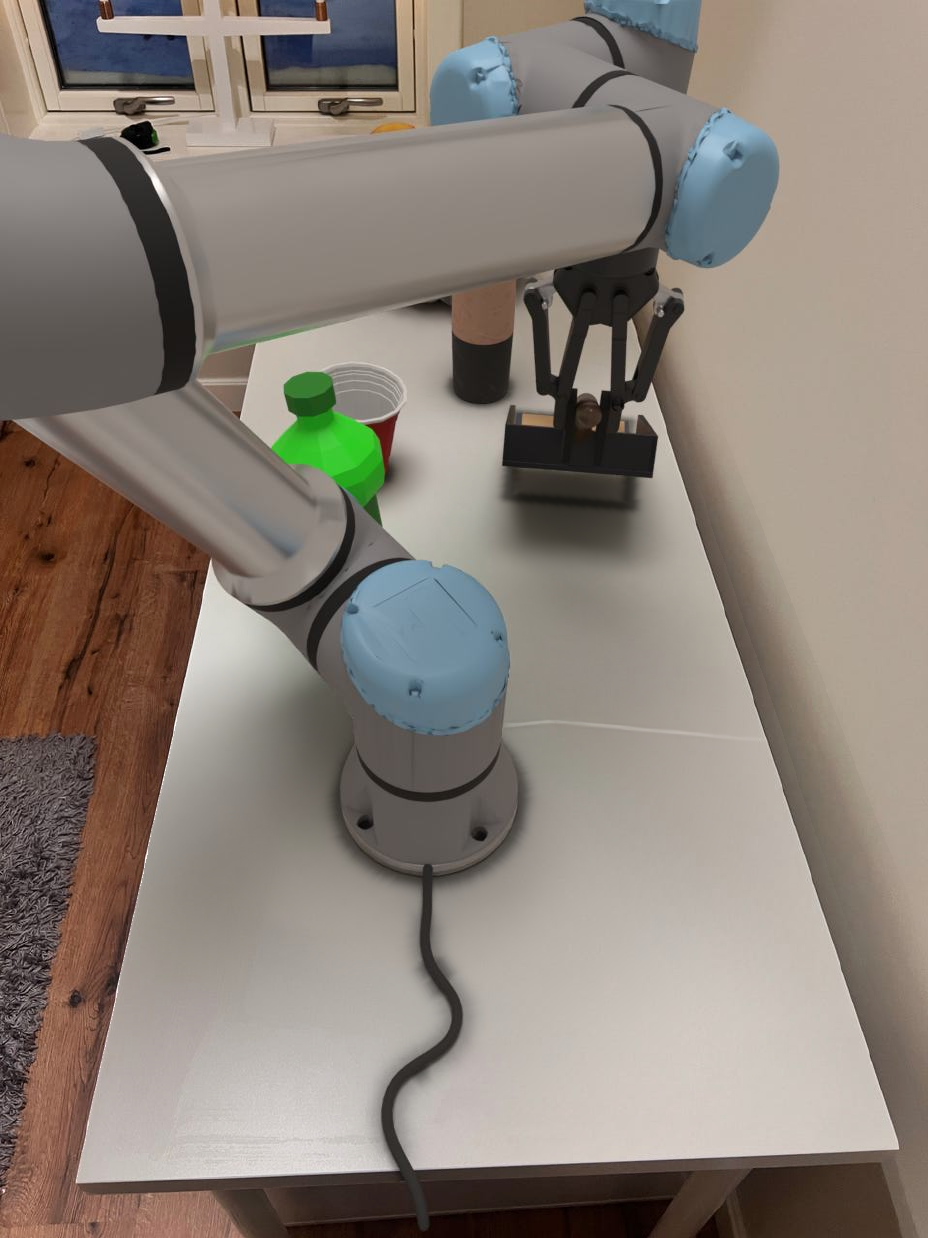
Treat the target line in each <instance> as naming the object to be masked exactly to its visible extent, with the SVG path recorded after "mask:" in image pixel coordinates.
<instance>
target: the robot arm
mask: <svg viewBox="0 0 928 1238" xmlns="http://www.w3.org/2000/svg"><path fill="white" fill-rule="evenodd" d="M702 3H703V0H584V1H583V10H584V14H583V15H580V16H579V15H578V16H576V17H573V18H571V19H569V20H567V21H563V22H559V23H555V24H551V25H545V26H541V27H537V28H533V29H528V30H524V31H519V32H515V33H510V34H507V35H502V36H498V37H497V36H495V35H491V36H489V37H488V36H487V37H485V38H484V40H482V41H479V42H477V43H474V44H471V45H468V46H464V47H462V48H459V49H457V50H454V51H451V52H450V53H449V54H448V55H446V56H445V57H443V59H442V60H441V61H440V63H439V64H438V65H437V67H436V69H435V71H434V74H433V76H432V80H431V83H430V88H429V105H430V109H429V110H430V111H429V120H430V126H423V127H415V129H407V130H399V131H391V132H383V133H375V134H370V133H368V134H361V135H353V136H346V137H345V136H344V137H337V138H336V137H335V138H329V139H320V140H313V141H306V142H296V143H289V144H281V145H274V146H266V147H257V148H251V149H242V150H234V151H226V152H217V153H209V154H202V155H194V156H186V157H179V158H178V157H177V158H170V159H161V160H155V161H154V160H153V159H151V158H150V157H149V156H148V155H147V154H145V153H144V152H143V151H142V150H141V149H139V148H138V147H137V146H136V145H134V144H133V143H132V142H130V141H129V140H128V139H126V138H124V137H121V136H117V135H116V136H115V135H114V136H104V137H93V138H84V139H75V140H43V139H35V138H28V137H27V138H26V137H19V136H14V135H10V134H6V133H1V132H0V421H13V422H14V423H16V424H17V425H18V426H20V427H21V428H23V429H24V430H25V431H26V432H28V433H30V434H32V435H33V436H35V437H36V438H37V439H38V440H40V441H42V442H43V443H45V444H46V445H47V446H49V448H52V449H54V450H55V451H56V452H57V453H59V454H61V455H62V456H63V457H65V458H66V459H68V460H69V461H71V462H72V463H74V464H75V465H76V466H78V467H79V468H81V469H83V470H84V471H85V472H87V473H88V474H89V475H91V476H93V477H94V478H96V479H97V480H98V481H100V482H101V483H102V484H104V485H106V486H107V487H108V488H110V489H111V490H113V491H114V492H115V493H117V494H118V495H120V496H121V497H123V498H125V499H126V500H127V501H129V502H130V503H132V504H133V505H135V506H136V507H138V508H139V509H141V510H142V511H143V512H145V513H146V514H148V515H149V516H151V517H152V518H153V519H155V520H156V521H158V522H160V523H161V524H162V525H164V526H166V527H167V528H168V529H170V530H171V531H173V532H174V533H176V534H177V535H178V536H180V537H181V538H183V539H184V540H186V541H187V542H189V543H190V544H191V545H193V546H194V547H196V548H198V550H200V551H202V552H203V553H204V554H206V555H207V556H209V557H210V560H211V561H210V562H211V567H212V571H213V573H214V576H215V578H216V580H217V582H218V584H219V585H220V586H221V588H222V589H223V590H224V591H225V592H226V593H227V594H228V595H229V596H231V597H232V598H234V599H235V600H237V601H239V602H240V603H242V604H243V605H244V606H246V607H247V608H249V609H250V610H252V611H254V613H257V614H258V615H260V616H261V617H263V618H264V619H266V620H267V621H269V622H270V623H271V624H273V625H274V626H275V627H276V628H278V630H279V631H280V632H282V633H283V634H284V636H286V637H287V639H288V640H289V641H290V642H291V643H292V644H293V646H294V647H295V648H296V649H297V650H298V651H299V652H300V654H301V655H302V656H303V657H304V658H305V660H306V661H307V662H308V663H309V664H310V665H311V667H312V668H313V670H315V671H316V673H317V674H318V675H319V676H320V678H321V679H322V680H323V681H324V682H325V683H326V685H327V686H328V687H329V688H330V689H331V690H332V692H333V693H334V694H335V695H336V697H338V699H339V700H340V701H341V702H342V703H343V705H344V706H345V708H346V709H347V711H348V713H349V714H350V717H351V719H352V725H353V734H354V740H355V741H354V743H353V744H352V747H351V750H350V751H349V754H348V755H347V757H346V760H345V763H344V766H343V768H342V771H341V775H340V782H339V799H340V806H341V812H342V816H343V820H344V823H345V826H346V828H347V830H348V832H349V834H350V836H351V837H352V839H353V840H354V842H355V843H356V845H358V847H359V848H360V849H361V851H363V852H364V853H365V854H366V855H368V856H369V857H370V858H372V859H373V860H375V861H376V862H377V863H378V864H380V865H382V866H384V867H386V868H389V869H391V870H394V871H397V872H400V873H403V874H407V875H414V876H422V895H421V898H422V901H421V916H420V917H421V918H420V927H419V946H420V953H421V957H422V960H423V963H424V965H425V967H426V969H427V970H428V973H429V974H430V976H431V978H432V979H433V980H434V981H435V983H436V984H437V986H438V987H439V988H440V990H441V991H442V992H443V994H444V995H445V997H446V999H447V1000H448V1002H449V1006H450V1009H451V1022H450V1025H449V1029H448V1031H447V1032H446V1034H445V1035H444V1036H443V1038H442V1039H440V1041H439V1042H437V1043H436V1044H435V1045H434V1046H432V1047H430V1049H428V1050H426V1051H425V1052H423V1053H422V1054H420V1055H418V1056H417V1057H415V1058H414V1059H412V1060H410V1061H409V1062H408V1063H406V1064H405V1065H404V1066H403V1067H401V1068H400V1069H399V1070H398V1072H396V1073H395V1075H394V1076H393V1077H392V1078H391V1080H390V1081H389V1082H388V1085H387V1087H386V1088H385V1092H384V1094H383V1098H382V1103H381V1117H380V1118H381V1127H382V1132H383V1135H384V1139H385V1142H386V1145H387V1147H388V1150H389V1151H390V1153H391V1154H390V1155H391V1156H392V1159H393V1161H394V1163H395V1165H397V1168H398V1170H399V1172H400V1174H401V1176H402V1178H403V1180H404V1181H405V1184H406V1185H407V1186H406V1187H407V1189H408V1191H409V1193H410V1196H411V1199H412V1202H413V1206H414V1210H415V1215H416V1221H417V1226H418V1228H419V1230H420V1231H421V1232H426V1231H428V1230H429V1228H430V1215H429V1210H428V1205H427V1200H426V1197H425V1193H424V1190H423V1188H422V1185H421V1183H420V1181H419V1179H418V1176H417V1174H416V1172H415V1170H414V1168H413V1166H412V1164H411V1162H410V1160H409V1159H408V1156H407V1155H406V1153H405V1151H404V1149H403V1147H402V1145H401V1143H400V1140H399V1138H398V1135H397V1132H396V1128H395V1123H394V1104H395V1100H396V1096H397V1094H398V1091H399V1089H400V1087H401V1085H402V1084H403V1083H405V1082H406V1080H408V1078H409V1077H411V1076H412V1075H413V1074H415V1073H417V1072H418V1071H419V1070H421V1069H422V1068H424V1067H426V1066H427V1065H428V1064H430V1063H432V1062H433V1061H435V1060H436V1059H438V1058H439V1057H440V1056H442V1055H443V1054H444V1053H445V1052H446V1051H448V1050H449V1049H450V1048H451V1046H452V1045H453V1044H454V1043H455V1041H456V1040H457V1038H458V1036H459V1034H460V1032H461V1028H462V1024H463V1016H464V1012H463V1005H462V1003H461V1000H460V997H459V995H458V993H457V991H456V990H455V988H454V987H453V985H452V984H451V983H450V981H449V980H448V978H447V977H446V976H445V974H444V973H443V972H442V970H441V969H440V967H439V965H438V964H437V962H436V960H435V957H434V954H433V951H432V945H431V926H432V916H433V881H434V879H433V876H434V877H435V876H442V875H443V876H444V875H448V874H449V875H450V874H453V873H457V872H460V871H463V870H466V869H468V868H470V867H472V866H474V865H476V864H478V863H480V862H481V861H483V860H484V859H485V858H487V857H488V856H490V855H491V854H492V853H493V852H494V851H496V849H497V848H498V847H500V845H501V844H502V843H503V841H504V840H505V839H506V837H507V835H508V834H509V832H510V830H511V828H512V826H513V823H514V821H515V818H516V813H517V811H518V810H517V809H518V801H519V794H520V793H519V788H520V786H519V785H520V783H519V776H518V772H517V771H518V770H517V768H516V765H515V762H514V760H513V758H512V755H511V753H510V751H509V750H508V747H507V746H506V744H505V741H504V740H503V738H502V734H503V726H504V716H505V708H506V698H507V689H508V682H509V677H510V669H511V653H510V650H509V642H508V641H509V640H508V630H507V625H506V621H505V617H504V615H503V613H502V611H501V608H500V606H499V604H498V603H497V601H496V599H495V598H494V596H493V595H492V594H491V593H490V591H489V590H487V588H486V587H485V586H484V585H483V584H482V583H481V582H479V580H477V579H476V578H475V577H473V576H472V575H471V574H469V573H467V572H465V571H464V570H462V569H460V568H458V567H455V566H453V565H450V564H446V563H444V564H443V565H442V566H441V567H437V566H436V567H435V566H433V562H432V561H431V560H426V559H417V558H415V557H414V556H413V555H412V554H411V553H410V552H409V551H408V550H407V549H406V548H405V547H403V545H402V544H400V542H399V541H397V539H396V538H394V537H393V535H391V534H390V533H389V532H388V531H387V530H386V529H385V528H384V526H383V527H382V526H381V525H379V524H378V523H377V522H376V521H375V520H374V519H373V518H372V517H371V516H370V515H369V514H368V513H367V512H366V511H365V510H364V508H363V507H362V506H361V505H360V503H359V502H358V501H357V500H356V499H355V497H354V496H353V495H351V494H350V493H349V492H348V491H347V490H346V489H344V488H343V487H341V486H340V485H338V484H337V483H336V482H335V481H334V480H333V479H332V478H331V477H330V476H329V475H328V474H326V473H325V472H323V471H321V470H320V469H318V468H315V467H313V466H310V465H306V464H287V463H286V462H285V461H284V460H283V459H282V458H280V457H279V456H278V455H277V454H276V453H275V452H274V451H273V450H272V449H271V447H270V446H269V445H268V444H267V443H266V442H265V441H264V440H263V439H261V437H259V436H258V435H257V434H256V433H255V432H254V431H253V430H252V429H251V428H249V426H248V425H246V424H245V423H244V422H243V421H242V420H241V419H240V418H239V417H238V416H237V415H236V414H235V413H234V412H232V411H231V410H230V409H229V408H228V407H227V406H226V405H225V404H224V403H223V402H222V401H221V400H220V399H218V397H217V396H216V395H215V394H213V393H212V392H211V391H210V390H209V389H208V388H207V387H206V386H204V385H203V383H202V382H201V381H200V380H198V379H197V378H198V375H199V373H200V371H201V368H202V366H203V364H204V362H205V360H206V358H207V357H208V356H212V355H215V354H220V353H223V352H227V351H233V350H236V349H240V348H244V347H247V346H252V345H256V344H260V343H264V342H268V341H272V340H277V339H280V338H281V339H282V338H284V337H289V336H293V335H297V334H300V333H304V332H308V331H309V332H310V331H313V330H317V329H320V328H324V327H325V328H326V327H329V326H332V325H333V326H334V325H337V324H341V323H345V322H349V321H353V320H356V319H361V318H365V317H370V316H372V315H373V316H374V315H378V314H381V313H385V312H389V311H393V310H398V309H403V308H406V307H410V306H413V305H417V304H421V303H427V302H426V301H430V300H434V299H438V298H442V297H446V296H450V295H454V294H458V293H462V292H466V291H470V290H474V289H478V288H482V287H486V286H490V285H494V284H498V283H502V282H506V281H510V280H514V279H516V280H518V279H522V278H526V277H530V276H535V275H538V274H539V275H540V274H542V273H543V274H544V273H547V272H550V271H553V273H552V274H553V275H550V276H548V277H545V278H543V279H540V280H538V279H537V278H535V277H531V278H528V279H526V281H525V284H524V290H523V304H524V306H525V309H526V310H527V313H528V314H529V316H530V318H531V325H532V342H533V343H532V344H533V356H534V358H533V359H534V373H535V374H534V375H535V389H536V393H537V394H538V395H539V396H542V397H543V396H550V397H551V398H553V400H554V406H553V407H554V409H553V415H554V416H553V426H554V429H559V430H564V436H563V444H562V462H561V463H562V464H570V456H571V448H572V440H573V433H574V425H575V417H576V410H577V397H578V391H579V390H578V388H576V387H574V384H575V381H576V377H577V372H578V368H579V364H580V361H581V357H582V353H583V348H584V345H585V341H586V338H587V336H588V333H589V329H590V326H595V325H603V326H606V327H609V328H611V347H610V386H609V387H610V388H609V390H605V389H602V390H601V392H600V397H599V398H600V399H599V403H598V404H599V406H600V409H601V412H602V418H601V421H600V422H599V424H598V425H596V431H595V438H594V445H593V466H600V467H601V462H602V456H603V449H604V443H605V437H606V433H615V434H616V433H617V431H618V430H619V426H620V420H621V419H622V414H623V411H624V409H625V405H626V404H627V403H629V402H634V403H643V402H644V401H645V400H646V399H647V396H648V393H649V390H650V388H651V385H652V382H653V379H654V375H655V373H656V370H657V368H658V364H659V362H660V358H661V356H662V354H663V351H664V347H665V345H666V342H667V338H668V335H669V333H670V330H671V329H672V327H674V325H675V324H676V322H677V321H678V320H679V319H680V317H682V315H683V314H684V312H685V301H684V300H685V299H684V292H683V290H682V289H681V288H680V287H672V288H671V289H670V288H669V287H667V286H666V285H664V284H662V283H661V282H660V277H659V272H658V271H657V265H658V259H659V254H660V253H659V252H660V251H662V252H664V253H665V254H666V256H668V257H669V258H670V259H672V261H673V260H674V261H679V260H680V261H682V262H685V263H687V264H689V265H692V266H694V267H697V268H700V269H707V270H708V269H713V268H714V269H715V268H718V267H721V266H723V265H725V264H727V263H728V262H730V261H731V260H733V259H734V258H735V257H736V256H738V255H739V254H740V253H742V251H743V250H744V249H745V248H746V247H747V246H748V245H749V244H750V243H751V242H752V241H753V240H754V238H755V236H756V235H757V233H758V232H759V230H760V229H761V227H762V226H763V224H764V222H765V221H766V218H767V217H768V214H769V212H770V210H771V206H772V202H773V199H774V197H775V193H776V191H777V188H778V186H779V180H780V168H781V167H780V166H781V165H780V156H779V151H778V148H777V146H776V144H775V142H774V140H773V139H772V137H771V135H769V134H768V133H767V132H765V131H764V130H763V129H761V128H760V127H757V126H756V125H754V124H752V123H750V122H749V121H747V120H745V119H743V118H741V117H739V116H738V115H736V114H735V113H734V112H733V111H731V110H730V109H729V108H727V107H721V108H720V107H717V106H715V105H712V104H710V103H707V102H705V101H703V100H701V99H697V98H695V97H693V96H690V95H688V89H689V84H690V79H691V74H692V69H693V65H694V61H695V55H696V54H697V53H698V50H699V45H698V36H699V26H700V17H701V11H702ZM556 293H557V295H558V296H559V298H560V299H561V300H562V302H563V304H564V305H565V307H566V309H567V310H568V311H569V313H570V315H571V316H572V317H571V322H570V326H569V330H568V333H567V334H568V335H567V340H566V343H565V346H564V351H563V356H562V359H561V363H560V367H559V368H560V369H559V372H558V375H555V374H552V363H551V361H552V360H551V342H550V340H551V339H550V323H549V322H550V320H549V318H550V317H549V308H550V307H551V306H552V305H553V299H554V294H556ZM438 300H439V299H438ZM652 300H653V302H652V311H653V315H652V318H651V321H650V324H649V326H648V330H647V333H646V336H645V339H644V342H643V345H642V348H641V350H640V354H639V357H638V360H637V363H636V366H635V369H634V372H633V374H632V375H633V376H632V378H631V379H630V380H626V371H627V369H626V368H627V344H628V343H627V341H628V325H629V324H628V322H630V321H631V320H632V319H633V318H634V317H635V316H636V315H637V314H638V313H639V312H640V311H641V310H642V309H643V308H645V306H646V305H647V304H648V303H649V302H650V301H652Z"/></svg>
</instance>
